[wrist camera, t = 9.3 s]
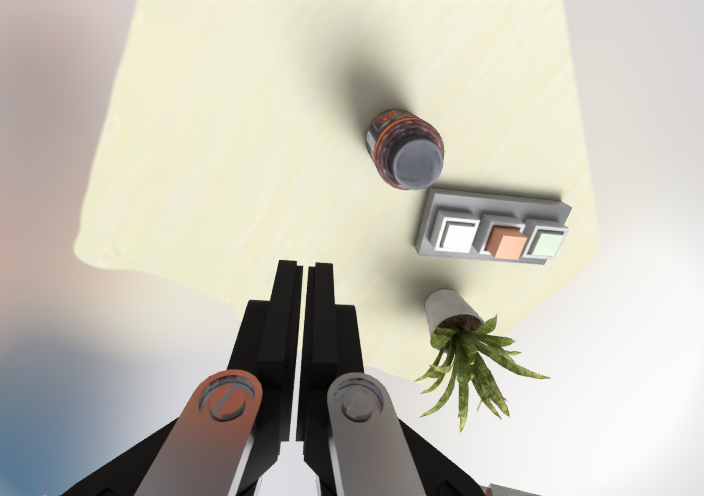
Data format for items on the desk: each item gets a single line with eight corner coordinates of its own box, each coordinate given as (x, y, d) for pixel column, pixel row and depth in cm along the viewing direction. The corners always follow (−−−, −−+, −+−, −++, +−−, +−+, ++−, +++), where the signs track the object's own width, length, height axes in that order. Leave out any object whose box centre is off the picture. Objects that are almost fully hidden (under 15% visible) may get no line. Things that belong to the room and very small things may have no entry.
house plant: (366, 320, 47) (385, 430, 33) (420, 245, 42) (471, 339, 27) (443, 349, 51) (490, 457, 37) (501, 285, 46) (582, 383, 32)
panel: (429, 187, 38) (440, 199, 34) (561, 201, 40) (584, 214, 36) (414, 247, 42) (423, 263, 38) (535, 256, 44) (553, 273, 40)
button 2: (492, 225, 37) (503, 235, 35) (515, 227, 37) (527, 237, 35) (484, 247, 38) (494, 257, 36) (506, 248, 39) (517, 259, 36)
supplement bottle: (414, 99, 33) (453, 113, 23) (424, 156, 36) (462, 189, 26) (357, 117, 33) (372, 139, 24) (372, 172, 36) (390, 211, 26)
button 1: (442, 216, 37) (450, 225, 35) (465, 218, 38) (474, 227, 36) (436, 237, 39) (443, 247, 37) (458, 239, 39) (466, 249, 37)
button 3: (529, 224, 39) (541, 233, 37) (550, 226, 39) (563, 235, 37) (520, 244, 40) (532, 254, 38) (541, 246, 41) (553, 256, 38)
